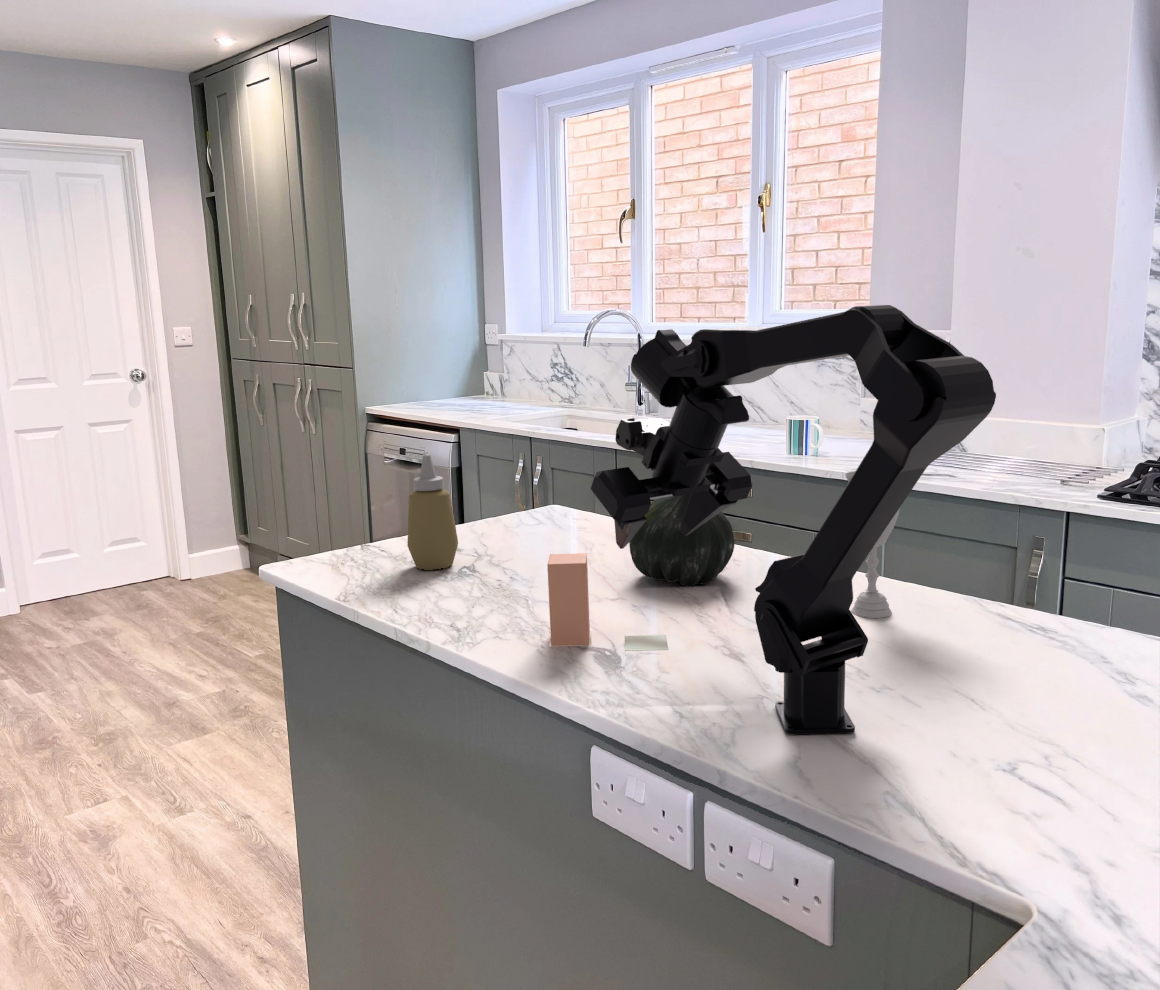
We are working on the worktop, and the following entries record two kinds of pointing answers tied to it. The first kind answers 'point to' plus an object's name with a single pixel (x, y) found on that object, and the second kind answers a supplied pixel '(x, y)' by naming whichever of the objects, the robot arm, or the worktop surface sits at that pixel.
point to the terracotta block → (568, 599)
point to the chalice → (873, 579)
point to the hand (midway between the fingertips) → (652, 539)
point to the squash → (681, 544)
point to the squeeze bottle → (431, 521)
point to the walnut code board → (637, 642)
